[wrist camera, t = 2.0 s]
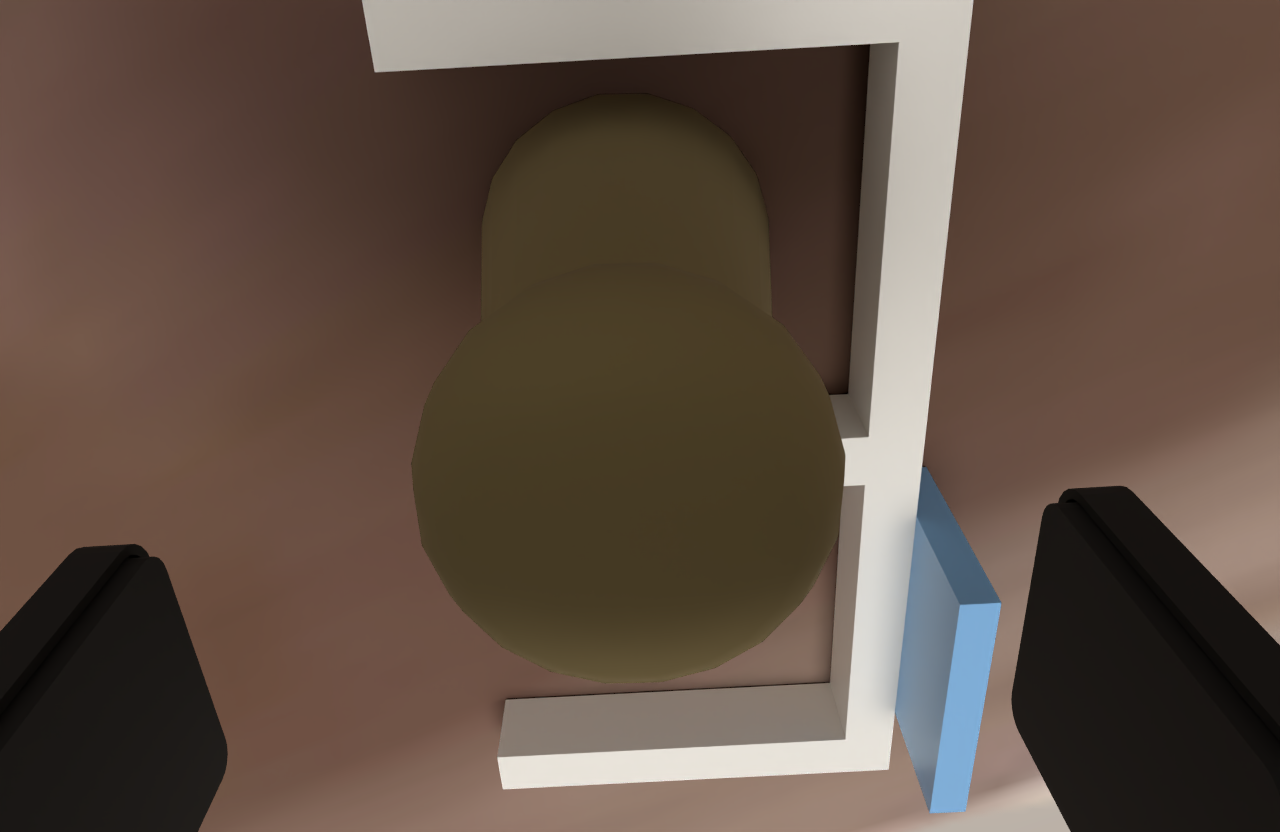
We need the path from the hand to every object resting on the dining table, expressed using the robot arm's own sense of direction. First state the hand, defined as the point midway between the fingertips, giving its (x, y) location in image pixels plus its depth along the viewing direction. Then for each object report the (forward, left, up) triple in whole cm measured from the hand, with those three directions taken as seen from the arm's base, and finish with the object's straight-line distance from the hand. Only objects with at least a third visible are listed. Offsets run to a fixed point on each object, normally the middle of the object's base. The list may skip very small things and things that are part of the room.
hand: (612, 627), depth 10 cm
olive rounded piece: (-1, 0, -11) cm, 11 cm away
